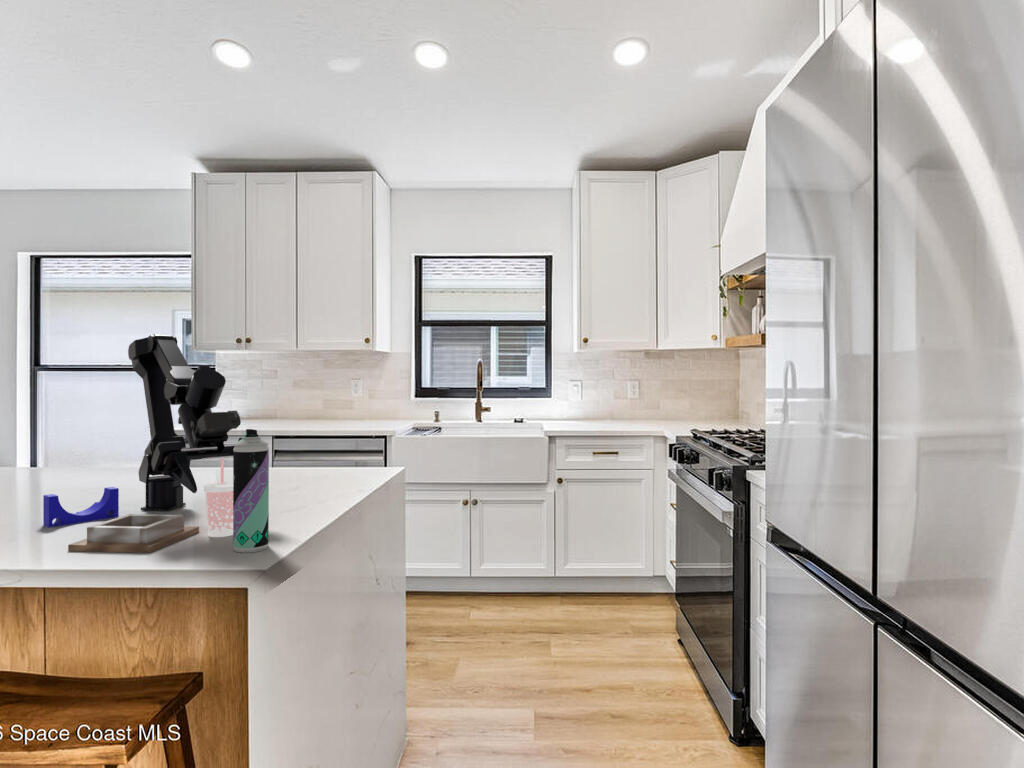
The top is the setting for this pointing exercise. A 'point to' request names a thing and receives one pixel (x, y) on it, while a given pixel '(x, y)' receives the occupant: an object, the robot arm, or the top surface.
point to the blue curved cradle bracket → (97, 511)
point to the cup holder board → (134, 534)
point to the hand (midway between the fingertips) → (222, 488)
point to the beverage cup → (219, 507)
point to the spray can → (250, 493)
